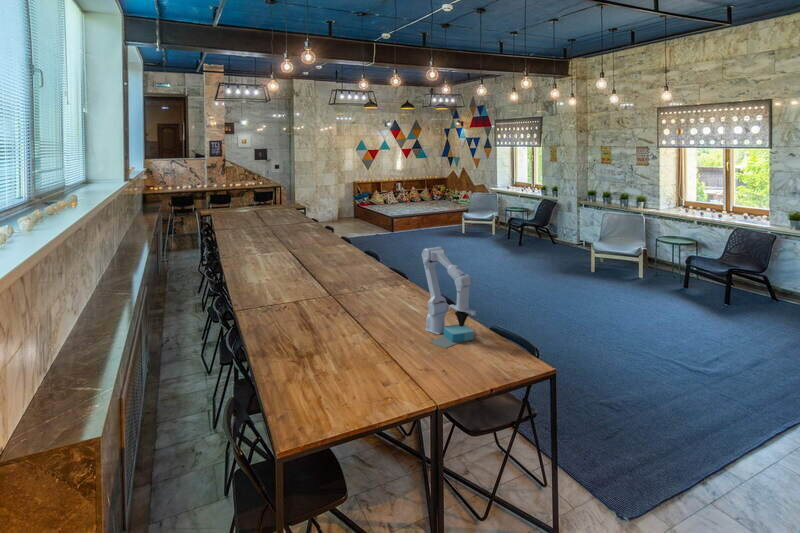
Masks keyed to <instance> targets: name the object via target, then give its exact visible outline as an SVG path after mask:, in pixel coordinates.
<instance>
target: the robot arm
mask: <svg viewBox="0 0 800 533" xmlns="http://www.w3.org/2000/svg"><path fill="white" fill-rule="evenodd" d="M421 258H422V263H423V267H424V271H425V277H426V280H427V285H428V290H429V294H430V295H429V296H430V298H429V300H428V301H427V312H428V314H427V315H426V319H425V320H426V321H425V322H426V323H425V329H424V330H425V331H426V332H430V333H433V334H435V335H441V334H444V326H446V315H447V313H448V312H449V310H454V311H455V313H454V314H455V317H456V319H457V322H458V324H459V326H461V327H462V326H464V324H465V323H466V320H467V318H468V317H469V315H471V316H476V310H474V309H472V308H470V307H469V302H470V301H469V299H470V298H469V296H470V286H471V285H472V284H473V279H472V276H471V275H470V274H468V273H464V272H463V271H462V270H461V269H460V268H459V265H457V264H453V263H452V262H451V261H450V259H449V258H448V257H447V255H446V254H445V250H444V249H443V248H442V247H441V246H436V247H429V248H427V247H426V248H424V249H423V250H422V253H421ZM437 263H440V264H441V265H442V266H443V267H444V268H445V269H446V270H447V274H448V275H449V276H450V277H451V278H452V280H454V285H455V289H456V304H450V305H449V304H448V303H447V299H446V297H444V296H443V295H442V293H441V289H440V285H439V284H440V283H439V278H438V275H437V271H436V265H437Z"/></svg>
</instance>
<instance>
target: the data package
mask: <svg viewBox="0 0 800 533" xmlns="http://www.w3.org/2000/svg"><path fill="white" fill-rule="evenodd" d="M474 335H475V331H474V330H473V329H472V328H471V327H469V326H467V325H466V324H465V323H464V326H462V327H461V326H459V323H458V324H450V325H445V326H444V333H443V336H445V337H447V338H448V339H449V340H450V341H452V342H460V343H462V342H468V341H473V340H474V337H475V336H474Z"/></svg>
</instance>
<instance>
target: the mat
mask: <svg viewBox="0 0 800 533" xmlns="http://www.w3.org/2000/svg"><path fill="white" fill-rule="evenodd" d="M474 337H476V334H474ZM428 343H429V344H431V345H435V346H437V347H441V348H443V349H445V348H446V349H448V348H450V347H453V346H454V345H457V344H460V343H459V342H452V341H450V340H449V339H448V338H447V337H445V336H444V335H442V336H440V337H438V338H435V339H433V340H429V341H428Z"/></svg>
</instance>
